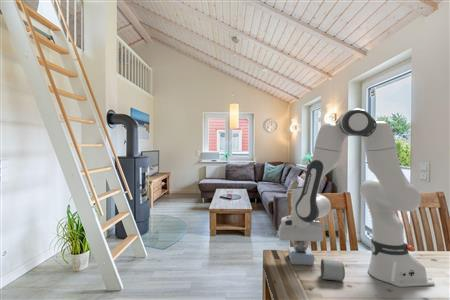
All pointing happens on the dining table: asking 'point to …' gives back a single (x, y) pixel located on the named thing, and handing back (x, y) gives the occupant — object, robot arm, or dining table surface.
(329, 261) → the ceramic mug
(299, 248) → the pin
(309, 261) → the collar block
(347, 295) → the dining table surface
